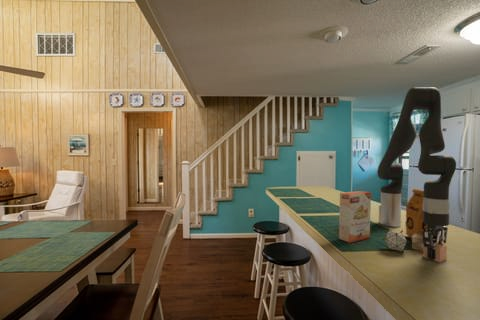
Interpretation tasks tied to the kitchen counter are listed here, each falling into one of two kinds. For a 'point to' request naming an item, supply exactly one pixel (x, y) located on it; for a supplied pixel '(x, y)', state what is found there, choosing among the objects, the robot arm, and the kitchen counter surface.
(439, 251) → the terracotta block
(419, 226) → the coffee package
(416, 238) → the birch block
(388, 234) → the game die
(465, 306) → the kitchen counter surface
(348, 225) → the cracker box
